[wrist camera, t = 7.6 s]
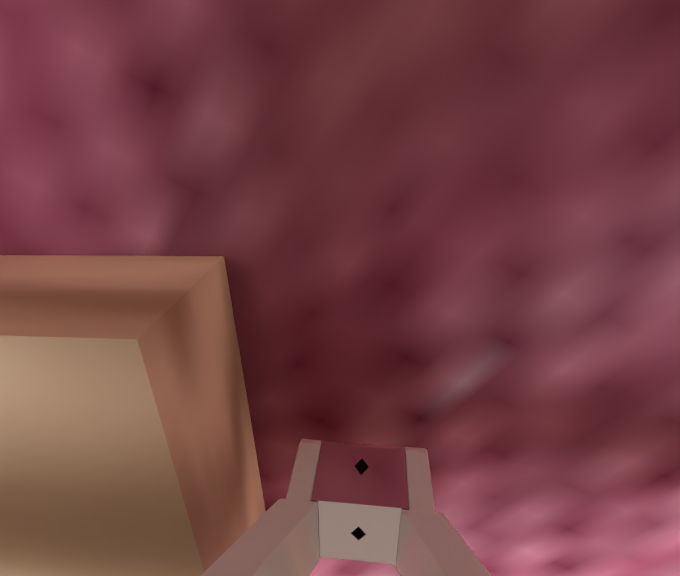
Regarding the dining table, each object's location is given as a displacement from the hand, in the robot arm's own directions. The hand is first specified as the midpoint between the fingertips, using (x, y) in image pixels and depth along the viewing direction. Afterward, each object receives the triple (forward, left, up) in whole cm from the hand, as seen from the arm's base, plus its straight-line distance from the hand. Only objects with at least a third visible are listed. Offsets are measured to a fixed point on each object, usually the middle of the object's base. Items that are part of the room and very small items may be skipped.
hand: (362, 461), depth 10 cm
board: (+1, -7, -2) cm, 7 cm away
